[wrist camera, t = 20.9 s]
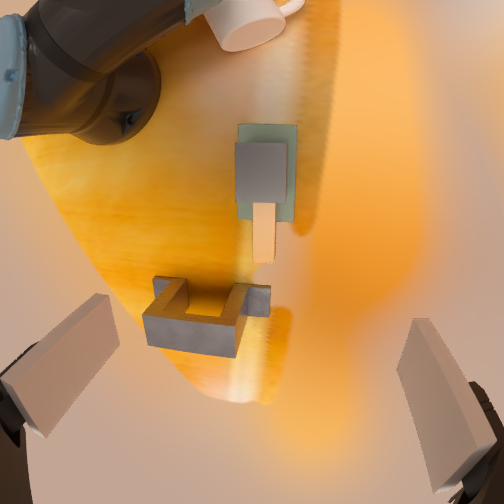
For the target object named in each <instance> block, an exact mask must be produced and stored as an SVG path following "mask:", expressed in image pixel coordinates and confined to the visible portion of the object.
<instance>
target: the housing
mask: <svg viewBox="0 0 504 504" xmlns="http://www.w3.org/2000/svg"><path fill="white" fill-rule="evenodd" d="M153 286H154V294H155V300H154V301H153V302H152V303H151V305H150V306H149V307H148V308H147V309H146V310H145V312H144V313H143V314H142V318H143V323H144V328H145V333H146V338H147V342H148V345H150V346H155V347H160V348H166V349H172V350H178V351H184V352H191V353H197V354H205V355H212V356H220V357H228V358H236V355H237V351H238V348H239V344H240V341H241V337H242V334H243V331H244V327H245V324H246V320H247V317H248V316H256V317H269V315H270V295H271V286H269V285H255V284H241V283H234V286H233V288H232V290H231V292H230V295H229V297H228V299H227V302H226V304H225V306H224V308H223V311H222V313H221V315H220V317H212V316H203V315H195V314H186V313H185V312H186V310H187V309H188V307H189V301H188V290H187V279H182V278H171V277H160V276H155V277H154V278H153Z"/></svg>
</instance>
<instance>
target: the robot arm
mask: <svg viewBox="0 0 504 504" xmlns="http://www.w3.org/2000/svg"><path fill="white" fill-rule="evenodd" d="M222 1H223V0H38V1H37V2H36V4H35V5H34V6H33V7H32V8H31V9H30V10H29V11H28V12H27V13H26V14H25V15H24V16H22V17H21V16H20V15H19V14H12V15H5V16H3V17H2V18H0V139H5V140H10V139H12V138H15V137H24V136H36V135H49V134H65V133H70V134H72V135H74V136H76V137H78V138H79V139H81V140H83V141H85V142H87V143H90V144H94V145H113V144H118V143H121V142H124V141H126V140H128V139H130V138H131V137H133V136H134V135H135V134H137V133H138V132H139V131H140V130H141V129H142V128H143V127H144V126H145V124H146V123H147V122H148V120H149V119H150V117H151V116H152V114H153V112H154V110H155V108H156V105H157V102H158V99H159V95H160V88H161V78H160V72H159V68H158V66H157V64H156V62H155V60H154V58H153V57H152V56H151V55H150V54H149V53H148V52H147V51H145V50H144V49H146V48H147V47H149V46H150V45H152V44H153V43H155V42H157V41H158V40H160V39H161V38H163V37H165V36H166V35H168V34H169V33H171V32H173V31H175V30H176V29H178V28H180V27H181V26H183V25H184V26H186V25H188V24H189V23H190V22H191V20H193V19H194V18H196V17H197V16H199V15H201V14H203V13H204V12H206V11H208V10H210V9H211V8H213V7H215V6H217V5H218V4H220V3H221V2H222ZM119 345H120V342H119V338H118V334H117V330H116V326H115V322H114V317H113V313H112V309H111V304H110V299H109V296H108V295H102V294H97V293H96V294H95V295H93V296H92V297H91V298H90V299H88V300H87V301H86V302H85V303H84V304H82V305H81V306H80V307H79V308H78V309H76V310H75V311H74V312H73V313H72V314H70V315H69V316H68V317H67V318H66V319H65V320H63V321H62V322H61V323H60V324H59V325H58V326H56V327H55V328H54V329H53V330H52V331H51V332H50V333H48V334H47V335H46V336H45V337H44V338H43V339H42V340H41V341H38V342H37V343H35V344H33V345H31V346H30V347H29V348H27V349H26V350H25V351H24V353H23V354H21V355H20V356H19V357H18V358H17V360H14V362H12V363H11V364H10V365H9V366H8V367H7V368H6V369H5V370H4V371H3V372H1V373H0V504H33V501H32V495H31V489H30V482H29V473H28V464H27V451H26V432H25V429H24V427H23V424H24V423H25V422H27V424H28V425H29V427H30V428H31V430H32V431H33V432H35V433H37V434H38V435H40V436H42V437H43V438H45V439H46V438H47V437H48V435H49V434H50V433H51V431H52V430H53V429H54V427H55V426H56V425H57V423H58V422H59V421H60V419H61V418H62V417H63V415H64V414H65V413H66V411H67V410H68V409H69V408H70V406H71V405H72V404H73V402H74V401H75V399H77V397H78V396H79V395H80V393H81V392H82V391H83V390H84V388H85V387H86V386H87V385H88V383H89V382H90V381H91V380H92V378H93V377H94V376H95V375H96V373H97V372H98V371H99V370H100V369H101V367H102V366H103V365H104V364H105V362H106V361H107V360H108V359H109V357H110V356H111V355H112V353H114V351H115V350H116V349H117V348H118V346H119ZM397 372H398V375H399V378H400V381H401V383H402V387H403V389H404V392H405V395H406V398H407V401H408V404H409V407H410V410H411V414H412V417H413V420H414V423H415V426H416V430H417V433H418V436H419V440H420V444H421V447H422V451H423V454H424V458H425V462H426V466H427V470H428V474H429V478H430V482H431V486H432V491H433V494H435V493H439V492H442V491H446V490H450V489H452V488H454V487H455V486H456V485H457V484H458V483H459V482H460V481H461V480H462V483H463V488H461V490H459V491H458V492H457V493H456V494H455V495H454V496H453V497H451V499H450V500H449V503H451V502H452V501H453V500H454V499H455V501H454V503H453V504H504V427H503V424H502V422H501V420H500V419H499V417H498V415H497V413H496V411H495V410H494V407H493V405H492V403H491V402H489V398H488V396H487V394H486V393H485V391H484V389H483V388H481V387H480V386H479V385H478V384H477V383H476V382H467V380H466V378H465V376H464V375H463V373H462V371H461V369H460V368H459V366H458V364H457V362H456V361H455V359H454V357H453V356H452V354H451V353H450V351H449V349H448V348H447V346H446V344H445V343H444V341H443V340H442V338H441V336H440V335H439V333H438V332H437V330H436V329H435V327H434V326H433V324H432V322H431V321H430V320H429V318H413V321H412V324H411V328H410V331H409V334H408V337H407V340H406V343H405V347H404V350H403V352H402V356H401V358H400V361H399V364H398V367H397Z"/></svg>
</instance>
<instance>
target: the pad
mask: <svg viewBox="0 0 504 504" xmlns="http://www.w3.org/2000/svg"><path fill="white" fill-rule="evenodd" d="M238 143H287V144H288V168H287V197H286V204H284V203H277V209H276V221H277V222H294V202H295V178H296V148H297V125H276V124H239V127H238ZM238 220H253V203H250V202H238Z"/></svg>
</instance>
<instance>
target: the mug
mask: <svg viewBox="0 0 504 504" xmlns="http://www.w3.org/2000/svg"><path fill="white" fill-rule="evenodd" d="M304 3H305V0H291V1H290V2H288V3H286V4H284V5H282V6H280V7H278V6H277V5H276V4H275V2H274V1H273V0H223V1H222V2H221V3H220V4H218V5H217V6H215V7H213V8H211V9H210V10H208V11H206V12H204V13H203V15H204V17H205V18H206V20H207V22H208V24H209V26H210V28H211V30H212V31H213V33H214V35H215V37H216V39H217V41H218V43H219V45H220V47H221V48H222V49H223V50H225V51H230V52H236V51H243V50H247V49H250V48H253V47H256V46H259V45H261V44H263V43H266V42H268V41H269V40H271V39H273V38H274V37H276V36H277V35H279V34H280V33H281V32H282V31H283V30H284V28H285V26H286V20H285V18H284V17H286V16H289V15H291V14H293V13H295V12H296V11H298V10H299V9H300V8H301V7H302V6H303V5H304Z"/></svg>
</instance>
